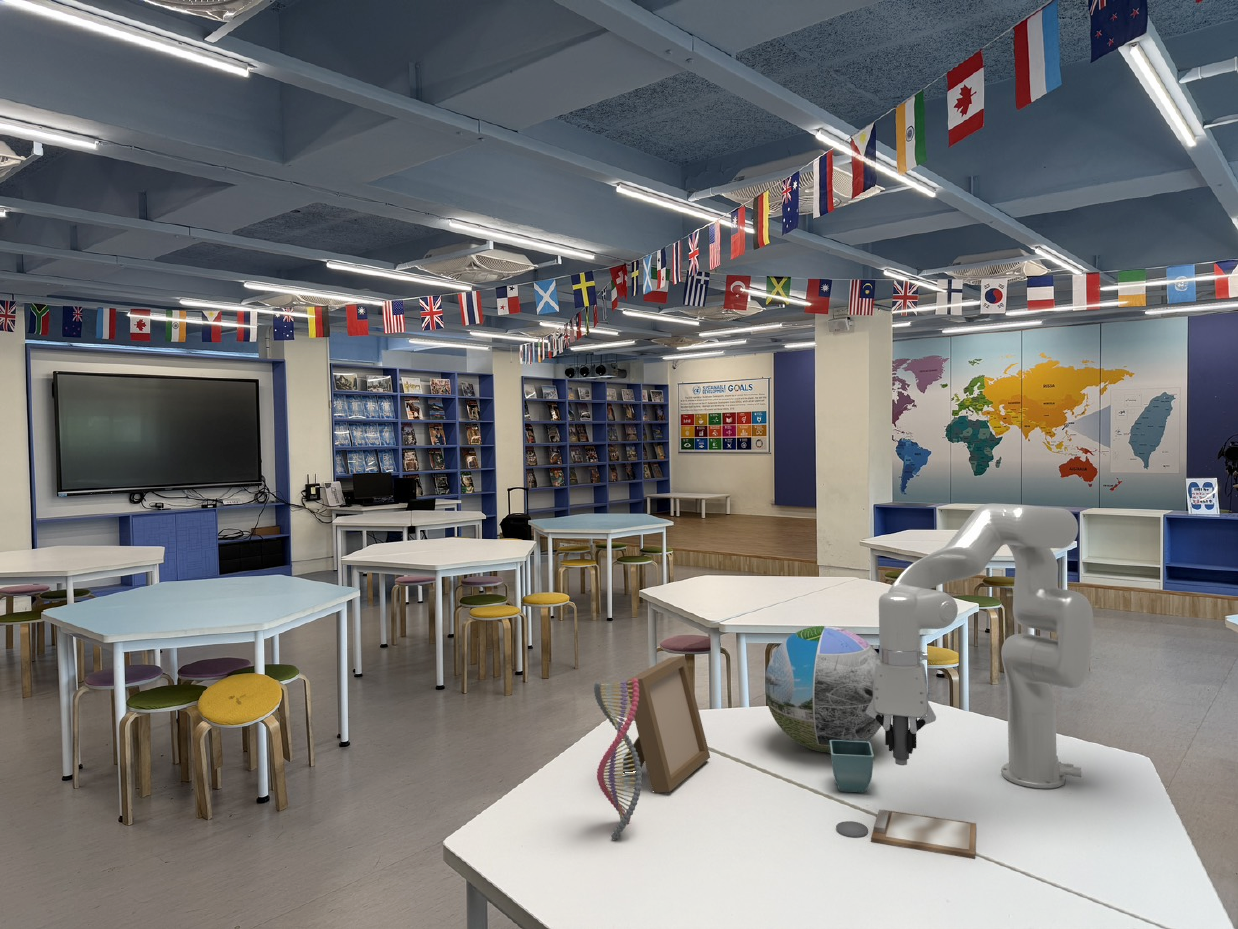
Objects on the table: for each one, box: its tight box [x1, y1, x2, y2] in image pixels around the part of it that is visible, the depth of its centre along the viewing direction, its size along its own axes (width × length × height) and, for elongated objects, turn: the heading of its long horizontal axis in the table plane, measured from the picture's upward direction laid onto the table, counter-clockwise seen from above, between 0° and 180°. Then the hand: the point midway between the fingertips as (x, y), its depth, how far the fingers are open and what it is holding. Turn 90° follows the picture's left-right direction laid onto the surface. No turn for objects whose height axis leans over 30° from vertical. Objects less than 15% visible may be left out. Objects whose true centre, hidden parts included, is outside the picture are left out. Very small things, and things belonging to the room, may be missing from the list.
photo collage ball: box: [764, 625, 884, 754], centre depth 204 cm, size 30×30×30 cm
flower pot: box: [830, 740, 875, 793], centre depth 180 cm, size 9×9×9 cm
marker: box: [891, 715, 910, 766], centre depth 162 cm, size 3×3×12 cm
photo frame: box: [622, 654, 711, 794], centre depth 192 cm, size 15×22×25 cm
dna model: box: [593, 678, 643, 841], centre depth 163 cm, size 9×9×30 cm
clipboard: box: [870, 808, 977, 859], centre depth 158 cm, size 18×13×2 cm
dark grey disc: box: [835, 820, 869, 839], centre depth 161 cm, size 6×6×1 cm
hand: (900, 749), depth 162 cm, fingers closed on marker, 3 cm apart
